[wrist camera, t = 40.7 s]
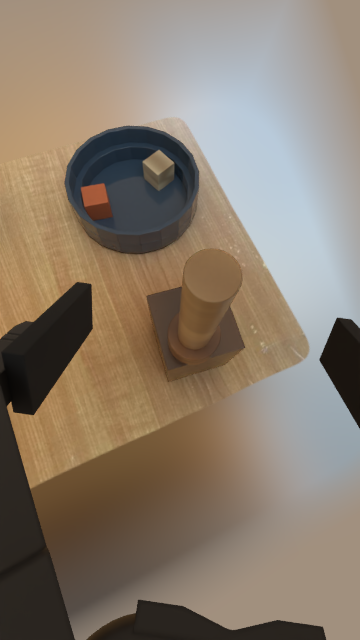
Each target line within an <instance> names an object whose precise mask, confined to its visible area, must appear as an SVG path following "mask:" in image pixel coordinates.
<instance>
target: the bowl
mask: <svg viewBox="0 0 360 640" xmlns="http://www.w3.org/2000/svg"><path fill="white" fill-rule="evenodd" d="M158 150H160V151H161V152H162V153H163V154H165V155H166V156H167V157H168V158H169V159H170V160H172V161H173V162H174V180H173V181H172V182H170V183H169V184H168V185H166V186H165V187H164V188H163V189H161V190H160V191H158V190H157V189H155V188H154V187H153V186H152V185H151V184H150V183H149V182H148V181H146V180H145V179H144V171H143V161H144V160H145V159H147V158H148V157H150V156H151V155H152V154H154V153H155V152H156V151H158ZM102 183H104V184H105V188H106V191H107V194H108V198H109V202H110V206H111V211H112V216H113V217H110V218H105V219H100V220H95V221H93V220H92V219H91V218H90V216H89V215H88V213H87V212H86V209H85V207H84V202H83V197H82V192H81V187H86V186H91V185H97V184H102ZM65 187H66V192H67V196H68V200H69V202H70V204H71V206H72V208H73V210H74V212H75V214H76V217H77V219H78V221H79V222H80V224H81V225H82V227H83V228H84V230H85V231H86V232H87V234H88V235H89V236H90V237H91V238H93V239H94V240H96V241H97V242H98V243H100V244H101V245H102V246H104V247H107V248H110V249H113V250H116V251H119V252H124V253H145V252H149V251H154V250H158V249H161V248H163V247H165V246H167V245H168V244H170V243H172V242H174V241H175V240H177V239H178V238H179V237H180V236H181V235H182V234H183V233H184V232H185V230H186V229H187V228H188V227H189V226H190V224H191V222H192V219H193V217H194V214H195V211H196V207H197V199H198V191H199V170H198V168H197V165H196V163H195V160H194V157H193V155H192V154H191V153H190V152H189V150H188V149H187V148H186V147H185V146H184V145H183V143H182V142H180V141H179V140H177V139H176V138H174V137H172V136H171V135H169V134H168V133H166V132H163V131H160V130H157V129H153V128H150V127H144V126H123V127H118V128H114V129H108V130H106V131H104V132H102V133H100V134H98V135H96V136H93V137H91V138H90V139H88V140H87V141H86V142H85V143H84V144H83V145H82V146H80V147H79V148H78V149H77V150H76V152H75V153H74V155H73V157H72V159H71V160H70V162H69V164H68V166H67V171H66V177H65Z"/></svg>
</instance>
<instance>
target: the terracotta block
mask: <svg viewBox="0 0 360 640" xmlns="http://www.w3.org/2000/svg"><path fill="white" fill-rule="evenodd" d="M81 192H82V197H83V202H84V207H85V209H86V212H87V213H88V215H89V216H90V218H91V219H92V220H93V221H95V220H100V219H105V218H110V217H113V216H112V211H111V206H110V202H109V198H108V194H107V191H106V188H105V184H104V183H102V184H97V185H91V186H86V187H81Z"/></svg>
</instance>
